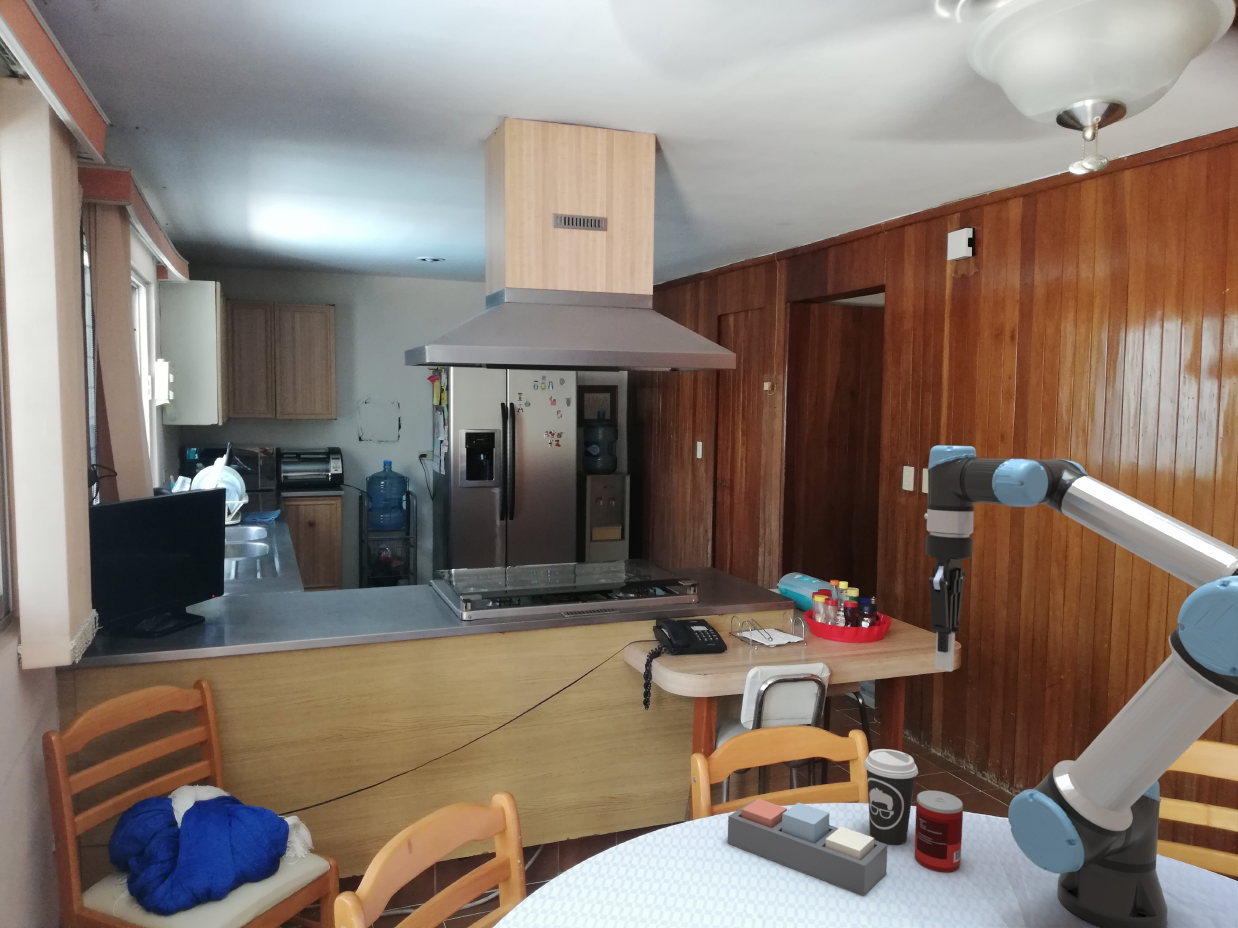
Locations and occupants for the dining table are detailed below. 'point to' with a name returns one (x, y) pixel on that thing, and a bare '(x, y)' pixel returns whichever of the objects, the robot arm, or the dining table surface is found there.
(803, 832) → the key blue
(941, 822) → the canned food
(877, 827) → the coffee cup
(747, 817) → the key brick
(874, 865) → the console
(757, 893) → the dining table surface
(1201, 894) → the dining table surface
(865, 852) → the key ivory
